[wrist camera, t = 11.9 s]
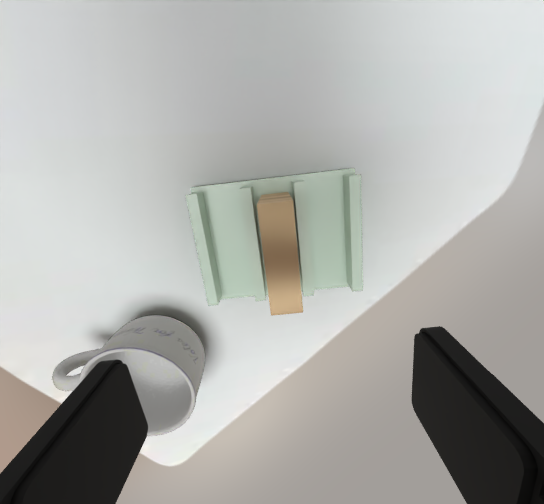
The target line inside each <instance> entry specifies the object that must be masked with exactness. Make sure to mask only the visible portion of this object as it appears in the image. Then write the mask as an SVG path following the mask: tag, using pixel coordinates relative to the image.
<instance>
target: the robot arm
mask: <svg viewBox="0 0 544 504" xmlns="http://www.w3.org/2000/svg"><path fill="white" fill-rule="evenodd" d="M413 361H414V362H413V382H412V404H413V408H414V411H415V413H416V415H417V416H418V418H419V420H420V422H421V423H422V425H423V427H424V429H425V431H426V432H427V434H428V436H429V437H430V439H431V441H432V443H433V445H434V446H435V448H436V450H437V452H438V453H439V455H440V457H441V459H442V460H443V462H444V464H445V466H446V467H447V469H448V471H449V473H450V474H451V476H452V478H453V480H454V481H455V483H456V485H457V487H458V488H459V490H460V492H461V494H462V496H463V497H464V499H465V501H466V503H467V504H544V423H543V422H542V421H541V420H540V419H538V418H537V417H536V416H535V415H534V414H533V413H532V412H531V411H530V410H529V409H528V408H527V407H526V406H525V405H524V404H523V403H522V402H521V401H520V400H519V399H518V398H517V397H516V396H515V395H513V393H511V392H510V391H509V390H508V389H507V388H506V387H505V386H504V385H503V384H502V383H501V382H500V381H499V380H498V379H497V378H496V377H495V376H494V375H493V374H491V373H490V372H489V371H488V370H487V369H486V368H485V367H484V366H483V365H482V364H481V363H479V362H478V361H477V360H476V359H475V358H474V357H473V356H472V355H471V354H470V353H469V352H468V351H467V350H466V349H465V348H464V347H463V346H462V345H461V344H460V343H459V342H458V341H457V340H456V339H455V338H454V337H453V336H451V335H450V333H448V332H447V331H446V330H445V329H444V328H443V327H440V326H439V327H430V328H422V329H421V330H420V332H419V334H416V335H415V339H414V360H413ZM147 433H148V423H147V420H146V417H145V414H144V412H143V409H142V406H141V403H140V400H139V397H138V395H137V392H136V389H135V386H134V383H133V380H132V378H131V375H130V372H129V369H128V366H127V365H126V364H124V363H123V362H122V361H121V360H118V359H116V360H107V361H101V362H99V363H97V364H96V366H95V367H94V368H93V369H92V370H91V371H90V372H89V373H88V375H87V376H86V377H85V378H84V379H83V380H82V381H81V383H80V384H79V385H78V386H77V387H76V388H75V389H74V391H73V392H72V393H71V394H70V395H69V396H68V397H67V398H66V400H65V401H64V402H63V403H62V404H61V405H60V406H59V408H58V409H57V410H56V411H55V412H54V413H53V415H52V416H51V417H50V418H49V419H48V420H47V421H46V422H45V424H44V425H43V426H42V427H41V428H40V429H39V430H38V431H37V433H36V434H35V435H34V436H33V437H32V438H31V439H30V441H29V442H28V443H27V444H26V445H25V446H24V447H23V449H22V450H21V451H20V452H19V453H18V454H17V455H16V457H15V458H14V459H13V460H12V461H11V462H10V463H9V464H8V466H7V467H6V468H5V469H4V470H3V472H1V474H0V504H115V503H116V501H117V499H118V497H119V495H120V493H121V491H122V488H123V486H124V484H125V482H126V480H127V478H128V475H129V473H130V471H131V469H132V467H133V465H134V462H135V460H136V458H137V456H138V454H139V452H140V450H141V447H142V445H143V443H144V441H145V439H146V436H147Z"/></svg>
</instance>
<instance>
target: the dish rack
mask: <svg viewBox="0 0 544 504" xmlns="http://www.w3.org/2000/svg"><path fill="white" fill-rule="evenodd" d="M283 192H289V194H290V196H291V198H292V200H293V205H294V217H295V228H296V239H297V250H298V261H299V272H300V284H301V291H303V295H304V296H313V295H314V290H319V289H329V288H339V287H350V288H351V290H352V291H363V267H362V207H361V175H360V174H355V168H349V169H341V170H332V171H324V172H316V173H307V174H299V175H290V176H282V177H274V178H265V179H257V180H249V181H240V182H232V183H223V184H215V185H207V186H198V187H192V188H191V194H188V195H185V196H186V201H187V206H188V210H189V215H190V220H191V225H192V230H193V235H194V239H195V244H196V249H197V254H198V259H199V263H200V268H201V273H202V278H203V283H204V287H205V292H206V297H207V302H208V306H214V305H218V304H219V302H220V300H221V299H230V298H240V297H250V296H255V300H256V301H263V300H266V295H268V287H267V279H266V272H265V264H264V256H263V249H262V241H261V233H260V225H259V218H258V210H257V203H258V201H259V199H260V197H261V195H265V194H274V193H283Z"/></svg>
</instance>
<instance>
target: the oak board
mask: <svg viewBox="0 0 544 504" xmlns="http://www.w3.org/2000/svg"><path fill="white" fill-rule="evenodd" d="M257 210H258V218H259V225H260V233H261V241H262V249H263V256H264V264H265V272H266V279H267V287H268V295H269V302H270V310H271V315H280V314H291V313H301V312H303V306H302V295H301V284H300V272H299V261H298V250H297V239H296V228H295V217H294V205H293V200H292V198H291V196H290V194H289V192H283V193H274V194H265V195H261V197H260V199H259V201H258V203H257Z"/></svg>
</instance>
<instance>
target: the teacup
mask: <svg viewBox="0 0 544 504" xmlns="http://www.w3.org/2000/svg"><path fill="white" fill-rule="evenodd" d="M116 359H118V360H121V361H122V362H123V363H124V364H126V365H127V366H128V369H129V372H130V375H131V378H132V380H133V383H134V386H135V389H136V392H137V395H138V397H139V400H140V403H141V406H142V409H143V412H144V414H145V417H146V420H147V423H148V433H147V436H157V435H162V434H166V433H169V432H172V431H174V430H176V429H177V428H179V427H180V426H182V425H183V424H184V423H185V422H186V421H187V420H188V419H189V417H190V415H191V414H192V412H193V410H194V407H195V402H196V396H197V393H198V389H199V386H200V383H201V379H202V375H203V371H204V364H205V353H204V349H203V345H202V343H201V341H200V339H199V337H198V336H197V335H196V333H195V332H194V331H193V330H192V329H191V328H190V327H189V326H187V325H186V324H184V323H182V322H181V321H179V320H177V319H174V318H171V317H167V316H159V315H152V316H144V317H140V318H137V319H135V320H132V321H131V322H129V323H127V324H126V325H124V326H123V327H122V328H120V329H119V330H118V331H117V332H116V333H115V334H114V335H113V336H112V337H111V338H110V339H109V340H108V341H107V343H106V344H105V345H104V346H103V347H102V348H101V349H96V350H91V351H86V352H82V353H79V354H76V355H73V356H71V357H68V358H67V359H65V360H63V361H62V362H61V363H60V364H58V366H57V367H56V368H55V370H54V372H53V376H52V380H53V383H54V385H55V387H56V388H57V389H59V390H62V391H73V390H74V389H75V388H76V387H77V386H78V385H79V384H80V383H81V381H82V380H83V379H84V378H85V377H86V376H87V375H88V373H89V372H90V371H91V370H92V369H93V368H94V367H95V366H96V364H97V363H99V362H101V361H107V360H116ZM83 365H85V366H84V367H83V369H82V371H81V373H80V374H77V375H74V376H66V375H67V374H68V373H69V372H71V371H72V370H74V369H76V368H78V367H80V366H83Z"/></svg>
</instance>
